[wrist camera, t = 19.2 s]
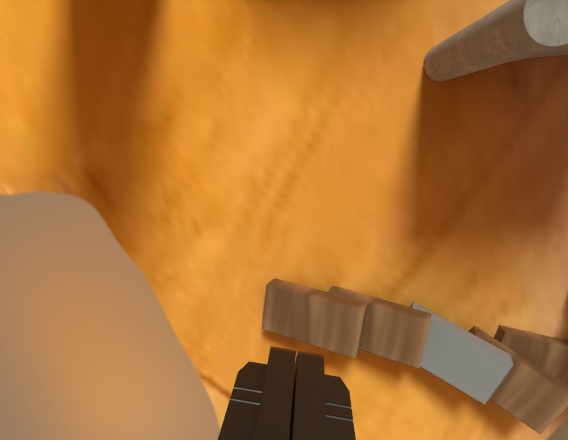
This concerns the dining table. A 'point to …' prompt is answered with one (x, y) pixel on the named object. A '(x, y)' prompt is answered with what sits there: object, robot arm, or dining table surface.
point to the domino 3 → (463, 358)
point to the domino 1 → (314, 317)
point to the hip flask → (502, 39)
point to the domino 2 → (391, 328)
